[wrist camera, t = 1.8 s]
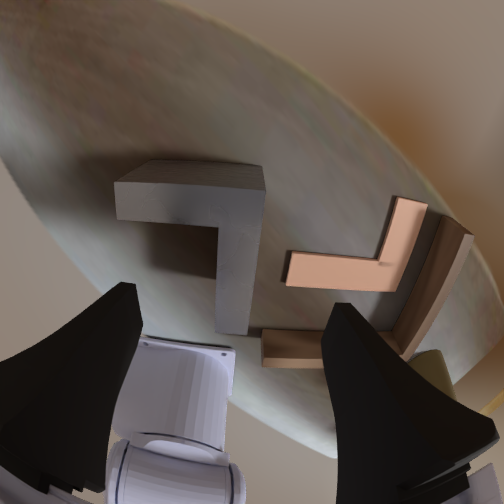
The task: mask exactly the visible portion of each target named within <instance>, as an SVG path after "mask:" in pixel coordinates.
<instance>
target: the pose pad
mask: <svg viewBox="0 0 504 504" xmlns="http://www.w3.org/2000/svg"><path fill="white" fill-rule="evenodd" d="M426 209H427V204H426V203H423V202H419V201H414V200H410V199H406V198H401V197H397V198H396V202H395V205H394V209H393V212H392V216H391V219H390V222H389V226H388V229H387V232H386V235H385V238H384V241H383V244H382V247H381V250H380V253H379V256H378V259H370V258H360V257H350V256H339V255H329V254H319V253H308V252H298V251H292V254H291V259H290V264H289V269H288V273H287V278H286V286H298V287H313V288H328V289H345V290H363V291H384V292H395V291H396V289H397V287H398V284H399V282H400V280H401V277H402V275H403V273H404V270H405V268H406V265H407V263H408V260H409V258H410V255H411V253H412V250H413V247H414V245H415V242H416V239H417V236H418V233H419V230H420V227H421V224H422V221H423V218H424V215H425V212H426Z"/></svg>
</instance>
